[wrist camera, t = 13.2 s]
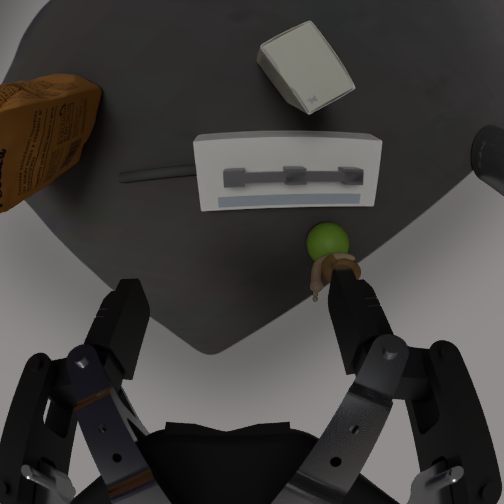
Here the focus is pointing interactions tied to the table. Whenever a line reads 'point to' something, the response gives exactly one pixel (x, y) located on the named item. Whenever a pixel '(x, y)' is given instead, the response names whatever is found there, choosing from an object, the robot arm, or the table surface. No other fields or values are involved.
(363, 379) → the robot arm
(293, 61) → the skincare box
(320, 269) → the snail figurine
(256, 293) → the table surface
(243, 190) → the strip
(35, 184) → the coffee package
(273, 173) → the breaker paddles
